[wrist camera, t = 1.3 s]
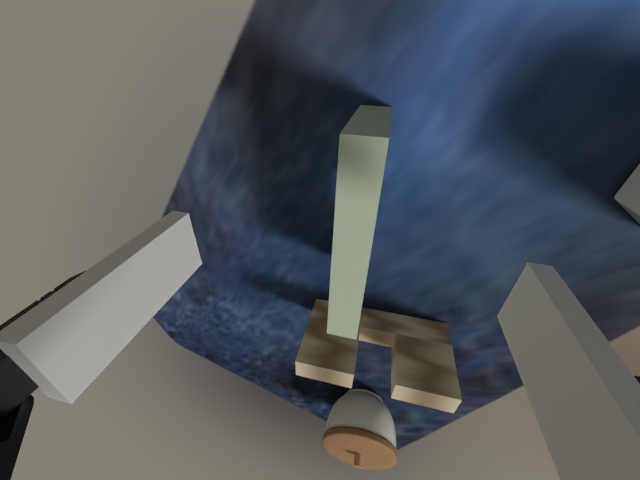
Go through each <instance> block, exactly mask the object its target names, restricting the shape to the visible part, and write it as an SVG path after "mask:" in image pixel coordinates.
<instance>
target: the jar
mask: <svg viewBox="0 0 640 480" xmlns="http://www.w3.org/2000/svg"><path fill="white" fill-rule="evenodd" d="M614 199H615V200H616V201H617V202H618V203H619V204H620V205H621V206H622V207H623V208H624V209H625V210H626V211H627V212H628V213H629V214H630V215H631V216H632V217H633V218H634V219H635V220H636V221H637V222H638V223H639V224H640V163H639V165H638V166H637V167H636V169H635V170H634V171H633V172H632V174H631V175H630V176H629V178H628V179H627V180H626V182H625V183H624V184H623V185H622V187H621V188H620V189H619V191H618V192H617V193H616V194H615V196H614Z"/></svg>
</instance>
